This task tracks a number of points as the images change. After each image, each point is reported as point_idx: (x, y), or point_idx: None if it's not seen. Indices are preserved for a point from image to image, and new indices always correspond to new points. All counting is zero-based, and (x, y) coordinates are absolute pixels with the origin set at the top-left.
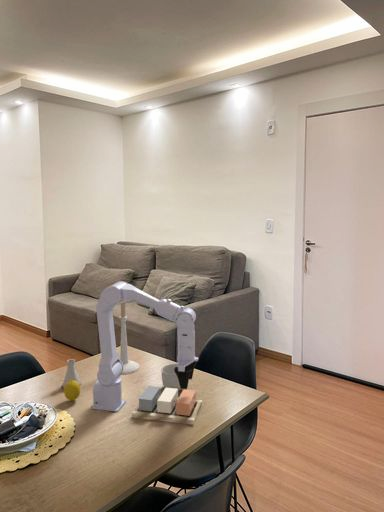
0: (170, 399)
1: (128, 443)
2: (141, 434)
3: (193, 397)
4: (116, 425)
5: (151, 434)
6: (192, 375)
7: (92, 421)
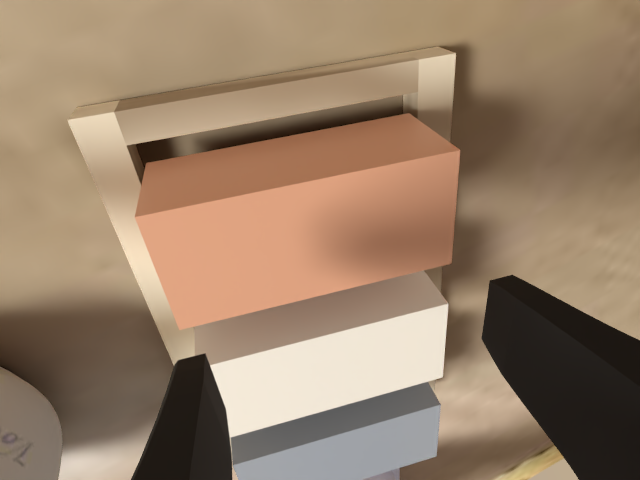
0: (405, 322)
1: (626, 282)
2: (561, 275)
3: (268, 180)
4: (496, 388)
5: (561, 237)
6: (199, 399)
7: (478, 455)
